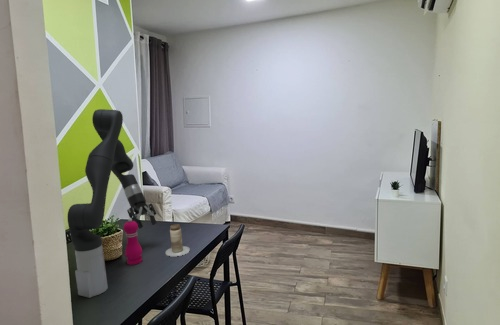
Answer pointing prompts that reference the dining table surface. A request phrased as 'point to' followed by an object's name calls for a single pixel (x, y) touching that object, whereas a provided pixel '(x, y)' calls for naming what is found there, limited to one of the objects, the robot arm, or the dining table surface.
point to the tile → (171, 254)
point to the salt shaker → (176, 238)
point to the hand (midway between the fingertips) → (148, 226)
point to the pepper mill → (132, 243)
